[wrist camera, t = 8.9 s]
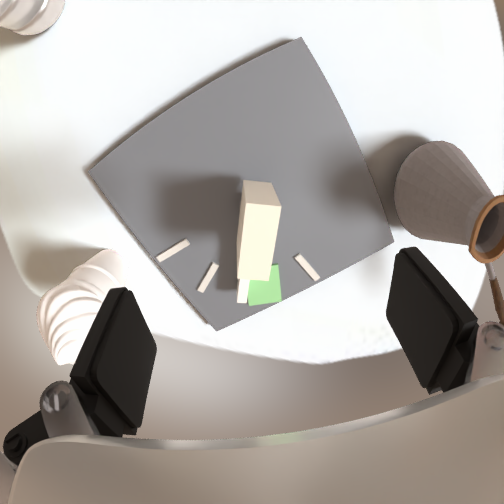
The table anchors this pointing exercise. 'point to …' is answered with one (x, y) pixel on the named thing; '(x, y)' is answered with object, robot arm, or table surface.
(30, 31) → the plastic bottle
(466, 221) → the coffee pot
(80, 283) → the soft serve ice cream cone
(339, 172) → the plate
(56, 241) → the table surface
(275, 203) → the peg head
